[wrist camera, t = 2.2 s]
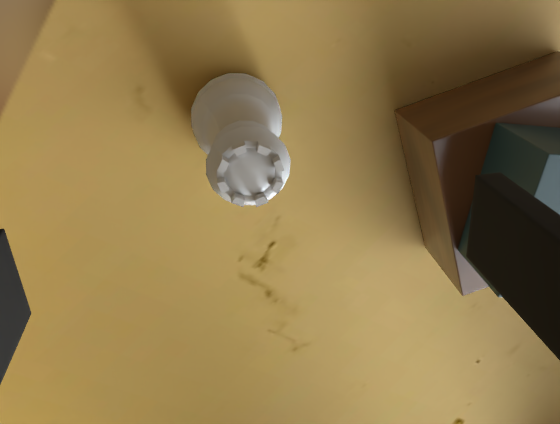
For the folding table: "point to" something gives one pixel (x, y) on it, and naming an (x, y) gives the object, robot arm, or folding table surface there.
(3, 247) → the robot arm
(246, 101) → the rook chess piece
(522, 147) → the top block
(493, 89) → the base block
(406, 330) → the folding table surface
